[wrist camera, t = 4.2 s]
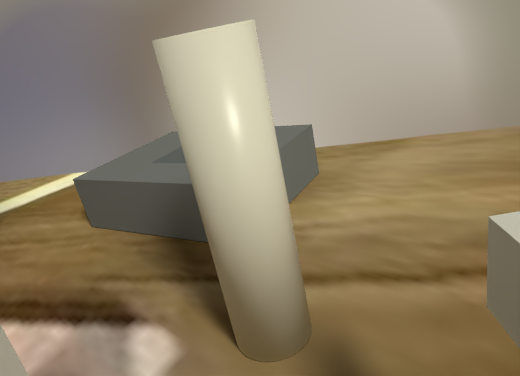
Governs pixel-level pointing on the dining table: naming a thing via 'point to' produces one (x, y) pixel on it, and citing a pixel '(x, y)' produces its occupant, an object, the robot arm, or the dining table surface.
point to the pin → (238, 183)
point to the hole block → (175, 185)
